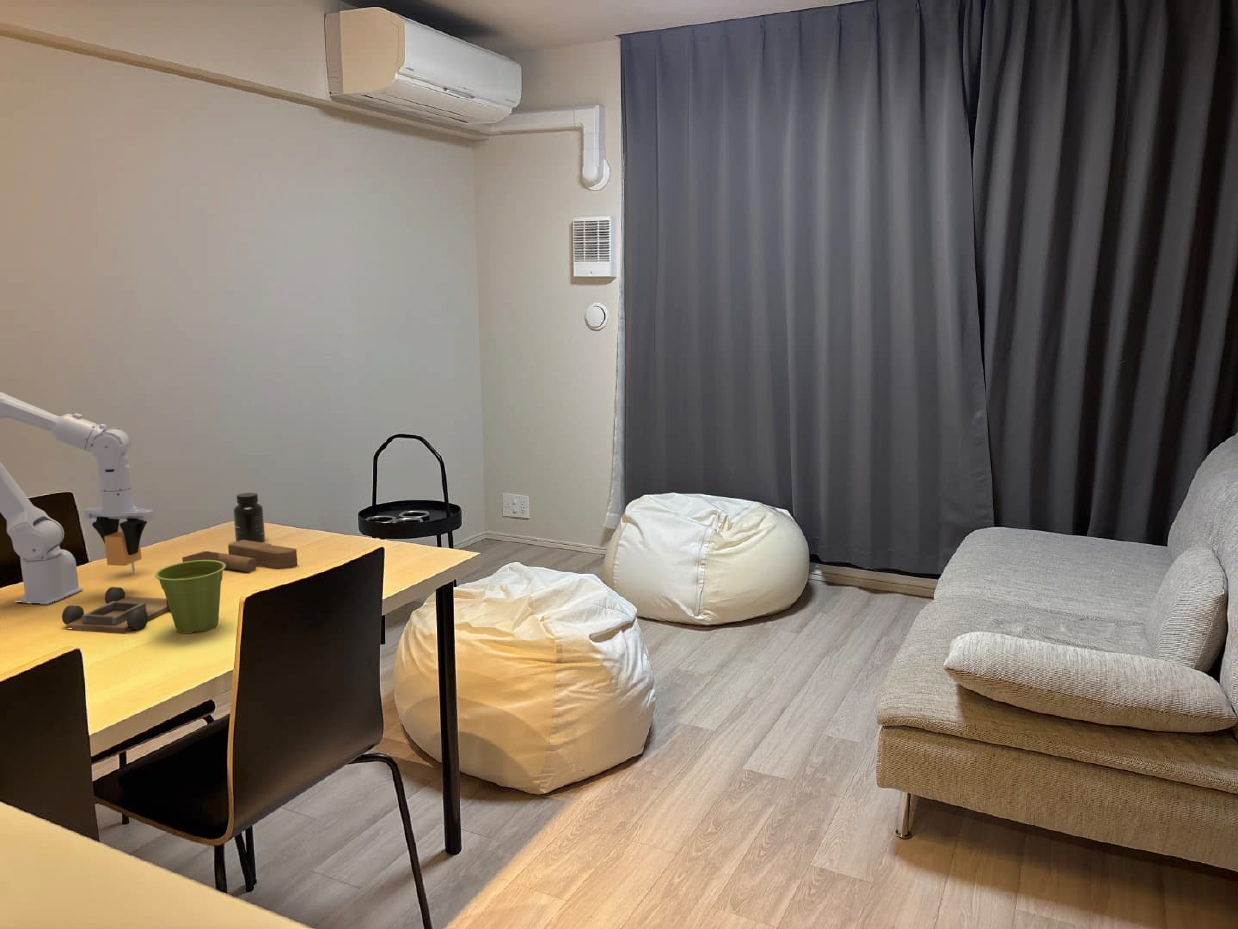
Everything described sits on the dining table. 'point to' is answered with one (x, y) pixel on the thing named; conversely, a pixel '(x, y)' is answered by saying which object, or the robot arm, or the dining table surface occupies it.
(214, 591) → the plant pot
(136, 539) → the robot arm
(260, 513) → the supplement bottle
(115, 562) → the tan wooden cube
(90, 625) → the chassis board
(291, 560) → the wooden block set
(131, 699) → the dining table surface
